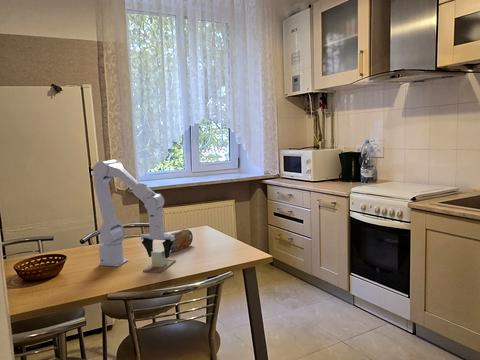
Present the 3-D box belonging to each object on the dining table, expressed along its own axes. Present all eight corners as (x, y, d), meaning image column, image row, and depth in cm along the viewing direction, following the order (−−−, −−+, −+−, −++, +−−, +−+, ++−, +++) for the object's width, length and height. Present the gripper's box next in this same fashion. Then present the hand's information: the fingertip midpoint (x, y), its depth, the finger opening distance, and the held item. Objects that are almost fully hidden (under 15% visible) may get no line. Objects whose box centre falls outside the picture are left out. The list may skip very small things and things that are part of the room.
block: (152, 266, 156) (150, 252, 155) (157, 262, 161) (156, 248, 160) (162, 267, 155) (160, 252, 154) (167, 263, 159) (166, 248, 158)
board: (143, 273, 153) (142, 269, 153) (159, 262, 165) (158, 258, 165) (161, 275, 151) (160, 271, 150) (175, 263, 163) (175, 259, 163)
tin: (170, 253, 173) (169, 235, 172) (165, 252, 175) (164, 234, 174) (193, 244, 185) (192, 227, 184) (189, 243, 187) (187, 227, 186)
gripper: (177, 222, 157) (179, 254, 159) (146, 221, 161) (148, 252, 163) (168, 227, 150) (171, 260, 152) (136, 225, 155) (139, 258, 157)
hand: (159, 256), depth 157 cm, fingers open, 7 cm apart
